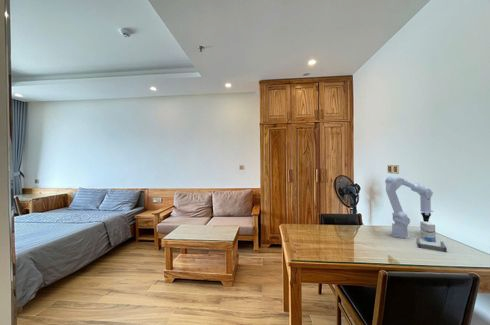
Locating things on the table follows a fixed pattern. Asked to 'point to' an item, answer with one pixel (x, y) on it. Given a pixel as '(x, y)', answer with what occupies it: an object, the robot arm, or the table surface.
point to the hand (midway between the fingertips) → (426, 222)
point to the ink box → (427, 231)
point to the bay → (432, 246)
